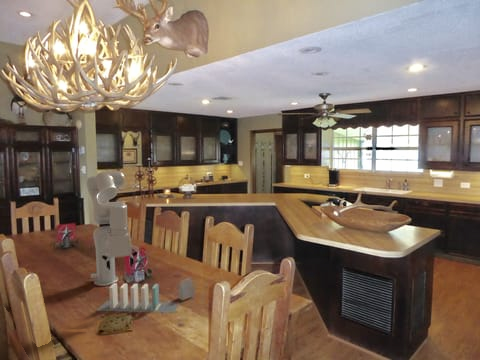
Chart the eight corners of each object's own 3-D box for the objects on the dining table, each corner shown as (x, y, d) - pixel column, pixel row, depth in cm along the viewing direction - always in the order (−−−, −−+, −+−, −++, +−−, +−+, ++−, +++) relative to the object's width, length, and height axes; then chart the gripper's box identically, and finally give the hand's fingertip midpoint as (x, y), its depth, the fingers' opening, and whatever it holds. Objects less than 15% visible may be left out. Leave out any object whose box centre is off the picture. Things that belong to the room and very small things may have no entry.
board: (96, 312, 151) (96, 310, 151) (106, 302, 161) (106, 300, 161) (174, 314, 149) (174, 312, 149) (179, 304, 159) (179, 302, 159)
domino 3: (131, 308, 153) (130, 288, 152) (135, 303, 158) (134, 283, 157) (134, 309, 153) (133, 288, 152) (138, 303, 158) (137, 283, 157)
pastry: (87, 328, 139) (87, 322, 139) (123, 312, 153) (122, 305, 153) (113, 342, 129) (112, 334, 129) (148, 322, 143) (148, 316, 143)
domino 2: (120, 308, 153) (119, 287, 152) (124, 303, 158) (124, 283, 157) (123, 308, 153) (123, 287, 152) (128, 303, 158) (127, 283, 157)
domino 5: (152, 309, 152) (151, 288, 151) (155, 304, 157) (155, 283, 156) (155, 309, 152) (155, 288, 151) (159, 304, 157) (158, 283, 156)
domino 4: (141, 309, 153) (141, 288, 152) (145, 304, 158) (144, 283, 157) (145, 309, 152) (144, 288, 152) (148, 304, 157) (148, 283, 157)
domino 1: (110, 308, 154) (109, 287, 153) (114, 303, 159) (113, 283, 158) (113, 308, 153) (112, 287, 152) (118, 303, 158) (117, 283, 157)
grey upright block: (194, 298, 166) (193, 278, 165) (182, 302, 161) (182, 282, 160) (190, 295, 169) (189, 276, 168) (178, 299, 164) (178, 280, 163)
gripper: (98, 235, 145) (100, 273, 147) (139, 231, 152) (140, 267, 154) (98, 231, 152) (100, 267, 154) (137, 227, 159) (138, 262, 161)
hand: (120, 267), depth 154 cm, fingers open, 9 cm apart
